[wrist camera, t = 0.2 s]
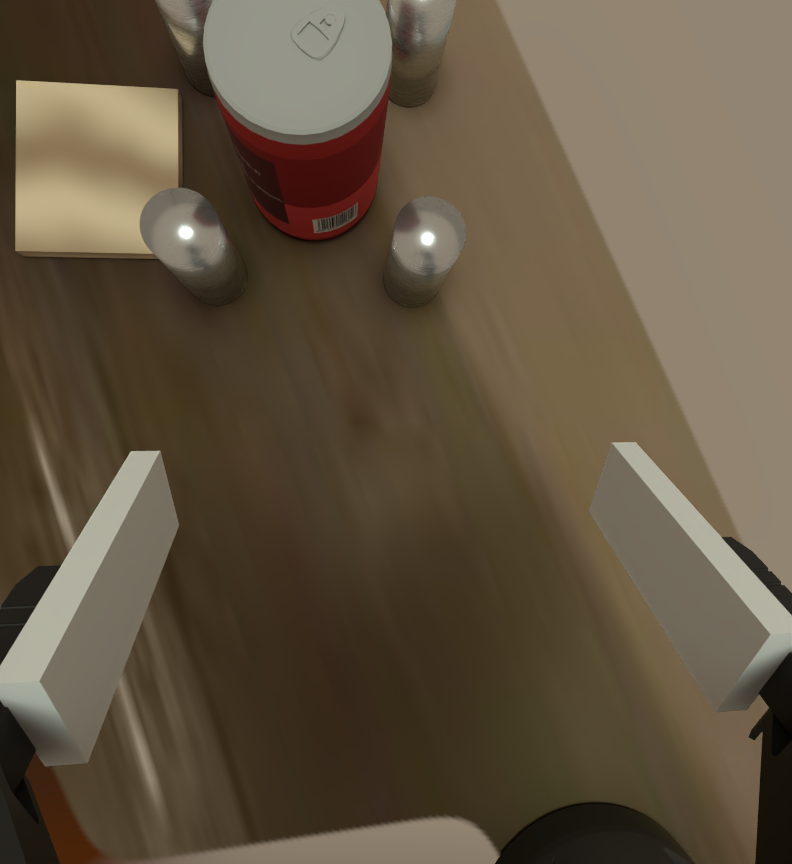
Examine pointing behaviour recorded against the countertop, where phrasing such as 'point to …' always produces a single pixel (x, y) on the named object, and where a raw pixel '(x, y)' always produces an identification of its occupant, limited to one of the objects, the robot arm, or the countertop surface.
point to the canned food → (303, 104)
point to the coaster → (92, 166)
